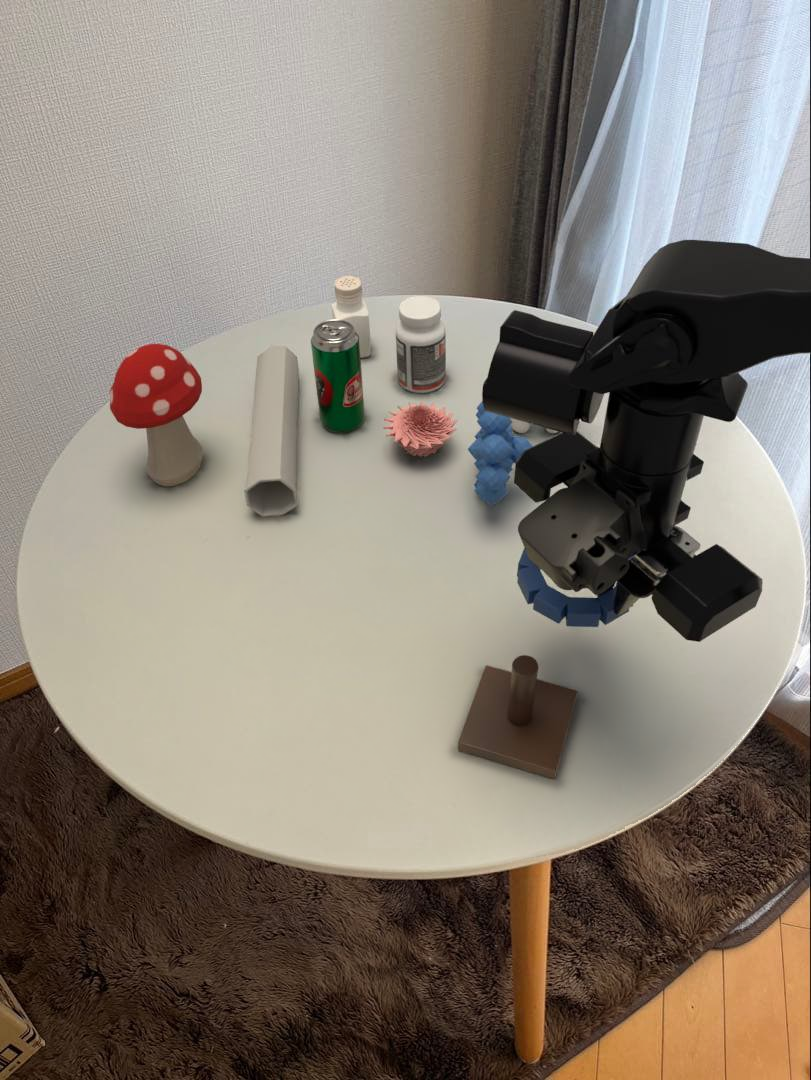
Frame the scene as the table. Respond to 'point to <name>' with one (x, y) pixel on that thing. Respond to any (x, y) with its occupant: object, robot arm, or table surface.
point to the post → (519, 718)
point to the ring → (563, 599)
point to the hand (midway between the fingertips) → (611, 603)
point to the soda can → (338, 375)
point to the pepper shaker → (353, 310)
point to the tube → (274, 434)
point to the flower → (421, 428)
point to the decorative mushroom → (160, 409)
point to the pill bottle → (420, 345)
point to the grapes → (495, 454)
